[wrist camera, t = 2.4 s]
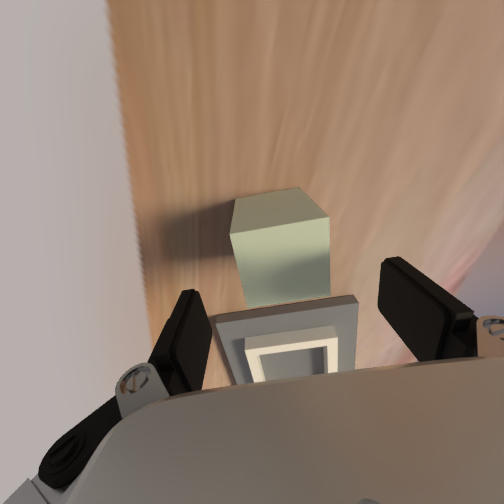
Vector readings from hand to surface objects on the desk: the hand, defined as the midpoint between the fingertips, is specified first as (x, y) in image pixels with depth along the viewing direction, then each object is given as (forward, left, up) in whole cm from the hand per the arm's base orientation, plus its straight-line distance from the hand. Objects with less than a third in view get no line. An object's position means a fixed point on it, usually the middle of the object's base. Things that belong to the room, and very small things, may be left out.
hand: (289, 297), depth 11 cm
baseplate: (+15, 0, -8) cm, 17 cm away
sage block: (-1, 0, -8) cm, 8 cm away
